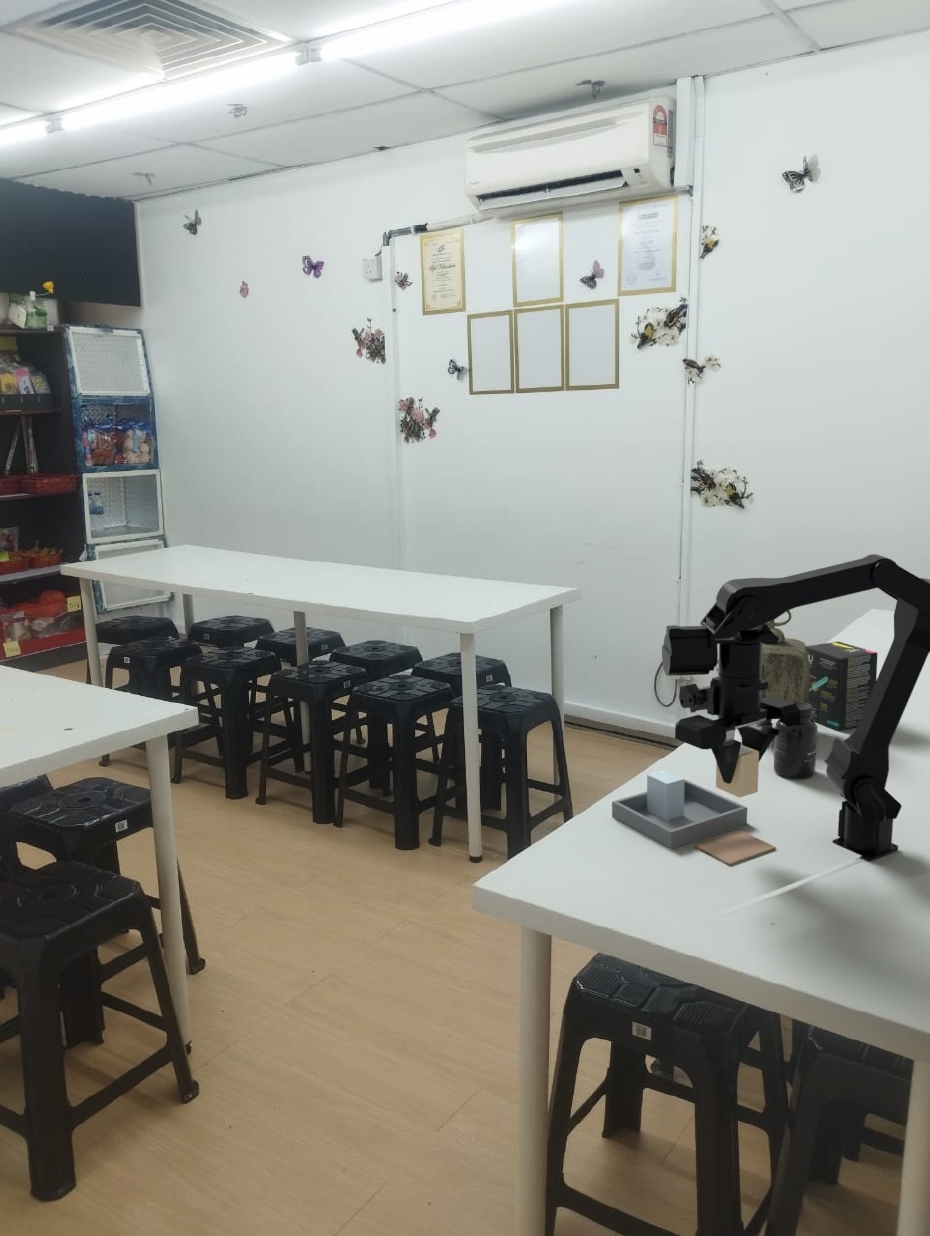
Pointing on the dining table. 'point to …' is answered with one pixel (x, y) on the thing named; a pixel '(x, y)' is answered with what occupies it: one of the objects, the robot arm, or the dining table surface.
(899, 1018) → the dining table surface
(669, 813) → the carton blue
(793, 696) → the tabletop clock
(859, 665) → the tampon box
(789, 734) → the supplement bottle
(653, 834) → the bin
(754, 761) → the carton tan
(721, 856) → the board
